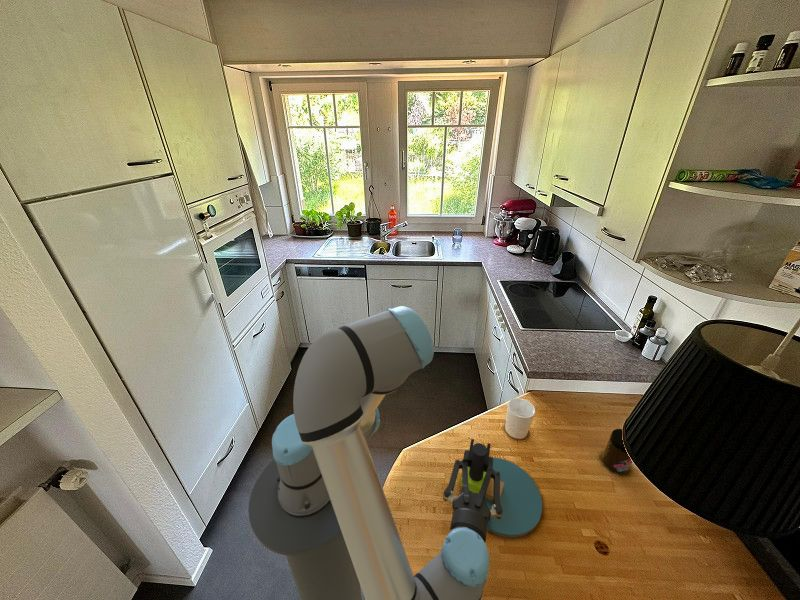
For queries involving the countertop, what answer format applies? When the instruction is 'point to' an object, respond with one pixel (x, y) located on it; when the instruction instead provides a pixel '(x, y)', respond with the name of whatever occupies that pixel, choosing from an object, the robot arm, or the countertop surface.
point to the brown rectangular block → (490, 489)
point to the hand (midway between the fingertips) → (480, 444)
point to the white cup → (519, 417)
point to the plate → (515, 501)
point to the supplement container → (616, 453)
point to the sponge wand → (476, 468)
